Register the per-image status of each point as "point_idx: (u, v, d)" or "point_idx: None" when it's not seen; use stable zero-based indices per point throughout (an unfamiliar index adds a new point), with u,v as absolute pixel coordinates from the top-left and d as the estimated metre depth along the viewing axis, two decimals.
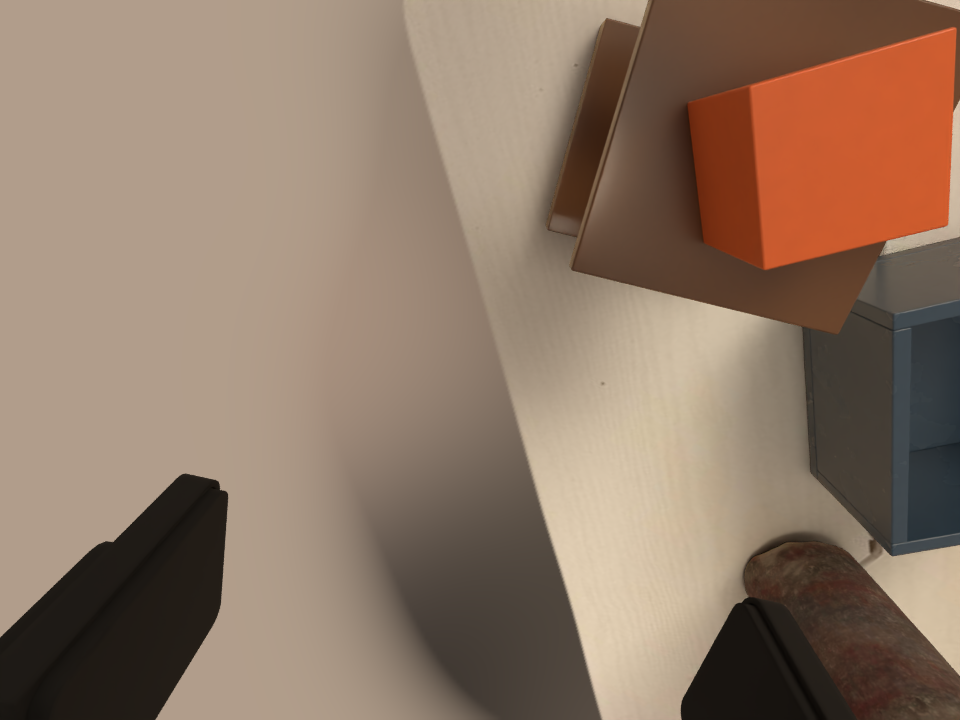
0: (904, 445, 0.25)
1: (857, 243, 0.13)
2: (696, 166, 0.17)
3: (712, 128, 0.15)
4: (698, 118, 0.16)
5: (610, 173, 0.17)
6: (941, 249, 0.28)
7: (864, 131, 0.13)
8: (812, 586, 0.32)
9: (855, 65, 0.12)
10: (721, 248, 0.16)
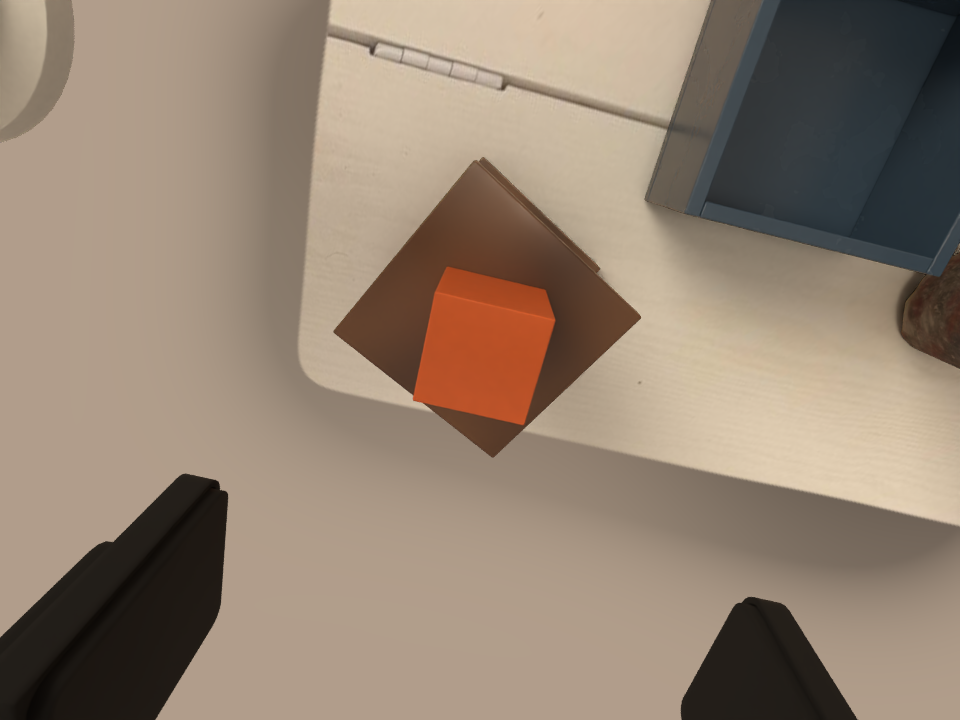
0: (820, 235, 0.26)
1: (536, 372, 0.20)
2: None
3: None
4: None
5: (445, 414, 0.26)
6: (689, 82, 0.30)
7: (469, 352, 0.20)
8: (949, 324, 0.31)
9: (429, 347, 0.20)
10: None
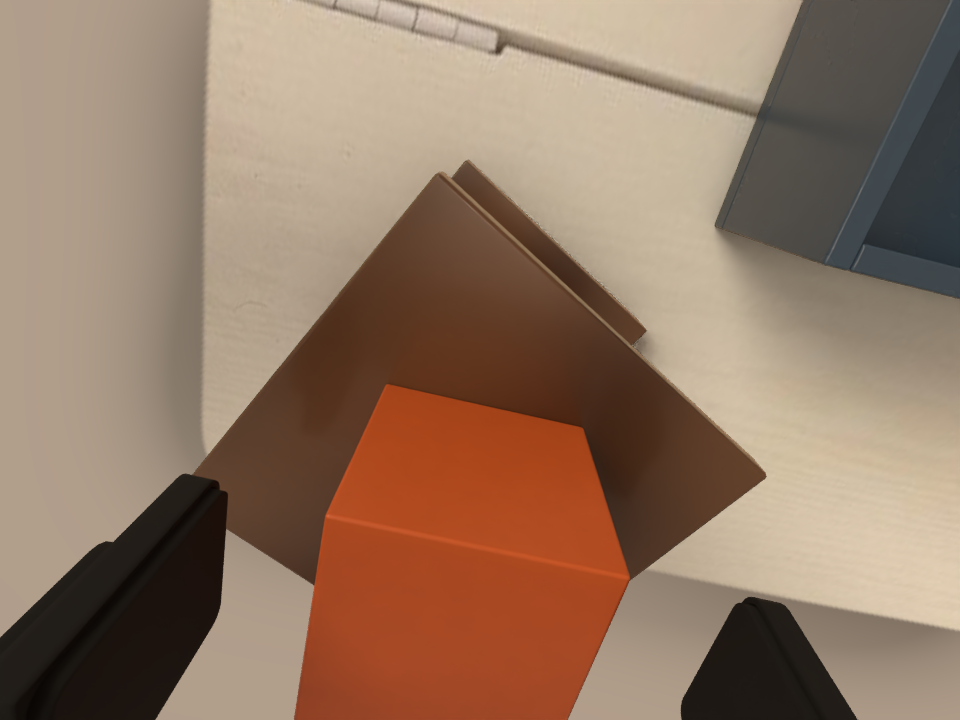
0: None
1: (578, 679, 0.08)
2: None
3: None
4: None
5: None
6: (803, 39, 0.18)
7: (417, 639, 0.08)
8: None
9: (320, 628, 0.08)
10: None
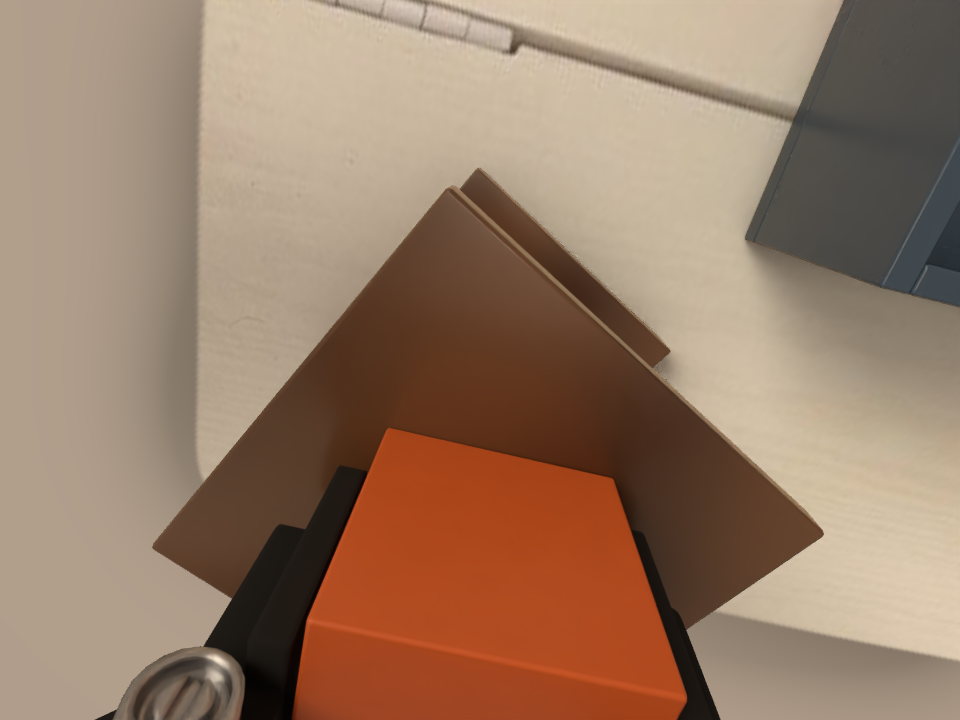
0: None
1: None
2: None
3: None
4: None
5: None
6: (847, 37, 0.17)
7: None
8: None
9: None
10: None
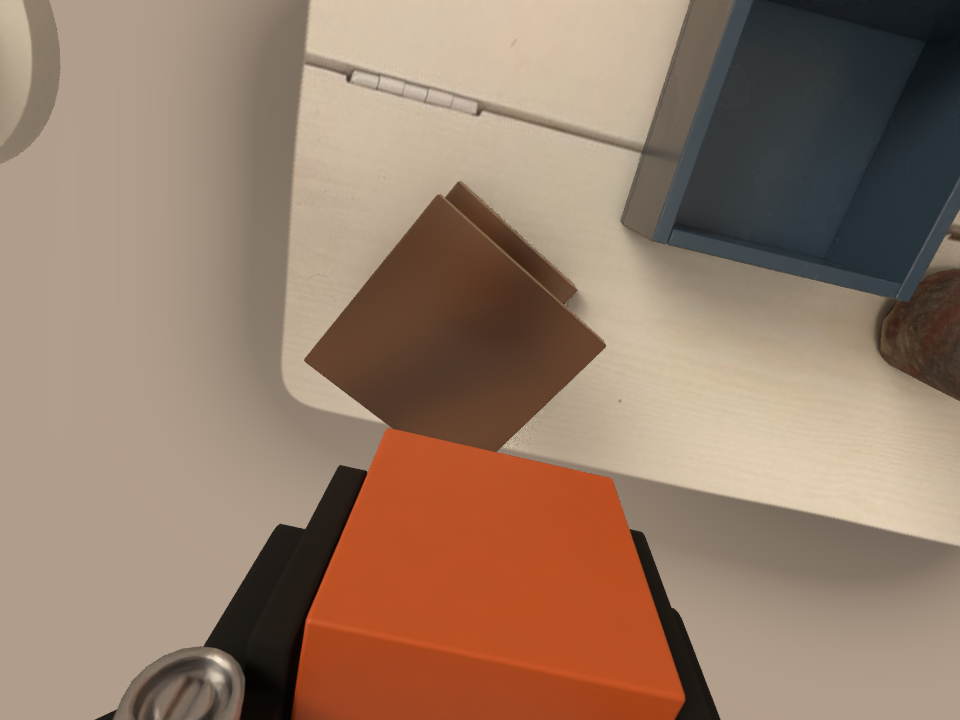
0: (787, 262, 0.26)
1: None
2: None
3: None
4: None
5: None
6: (661, 108, 0.30)
7: None
8: (923, 345, 0.31)
9: None
10: None
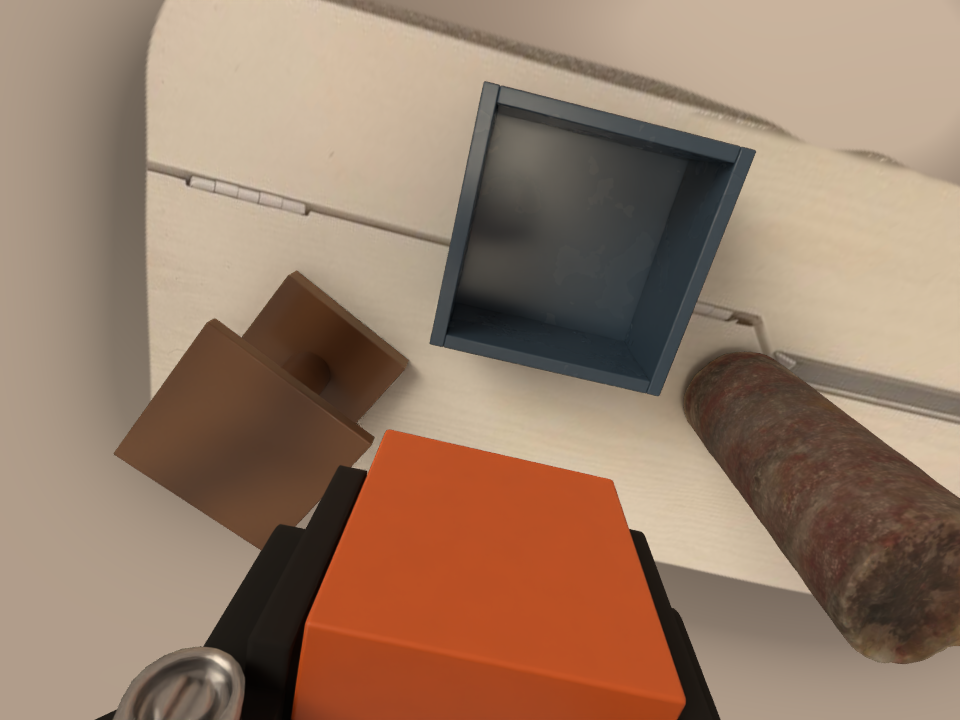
0: (549, 362, 0.30)
1: None
2: None
3: None
4: None
5: (221, 519, 0.30)
6: None
7: None
8: (701, 424, 0.35)
9: None
10: None
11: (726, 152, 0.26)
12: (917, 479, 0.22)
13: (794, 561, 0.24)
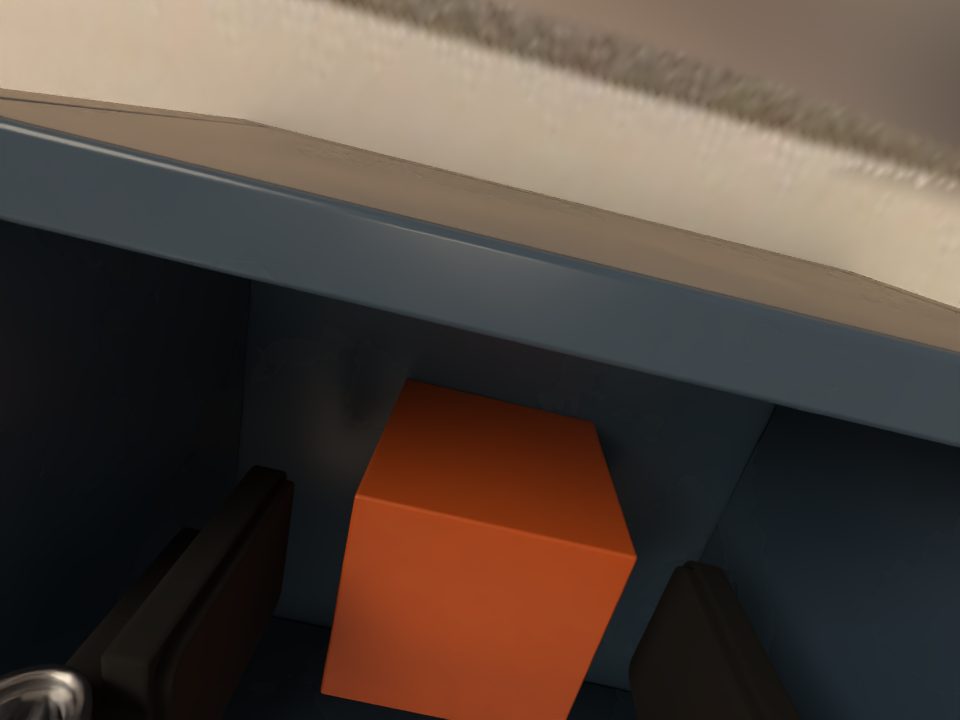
0: None
1: (588, 654, 0.09)
2: None
3: None
4: None
5: None
6: None
7: (437, 614, 0.09)
8: None
9: (347, 603, 0.09)
10: None
11: None
12: None
13: None
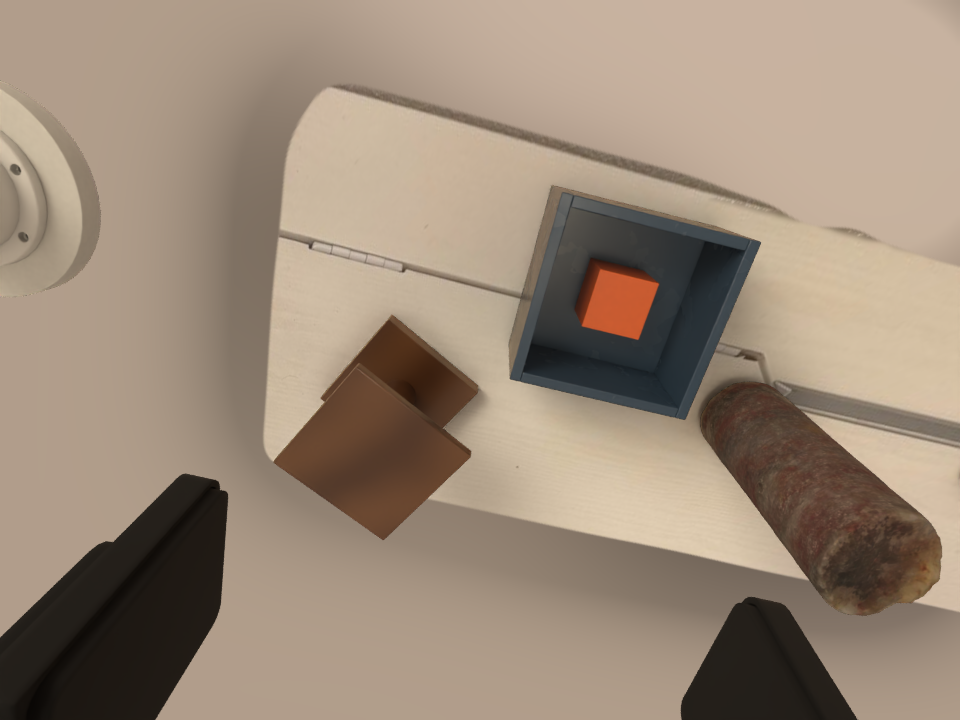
0: (601, 393, 0.39)
1: (647, 311, 0.39)
2: None
3: None
4: None
5: (349, 512, 0.39)
6: (528, 274, 0.43)
7: (614, 300, 0.39)
8: (715, 440, 0.44)
9: (593, 297, 0.39)
10: None
11: (739, 243, 0.35)
12: (874, 486, 0.31)
13: (787, 544, 0.33)
